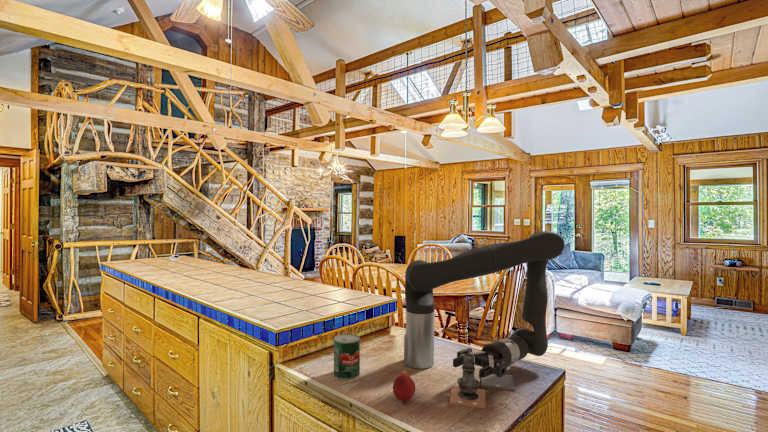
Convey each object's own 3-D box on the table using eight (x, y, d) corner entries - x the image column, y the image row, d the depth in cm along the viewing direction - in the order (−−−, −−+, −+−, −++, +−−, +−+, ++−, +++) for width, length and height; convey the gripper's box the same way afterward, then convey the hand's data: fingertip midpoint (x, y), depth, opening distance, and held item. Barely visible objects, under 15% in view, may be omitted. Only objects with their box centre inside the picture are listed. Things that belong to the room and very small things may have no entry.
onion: (408, 410, 95) (408, 378, 95) (388, 403, 98) (388, 373, 98) (418, 400, 100) (419, 370, 100) (399, 394, 103) (400, 365, 103)
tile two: (449, 403, 99) (449, 401, 99) (452, 387, 107) (452, 385, 107) (485, 408, 96) (485, 406, 96) (485, 392, 105) (485, 389, 105)
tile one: (481, 386, 108) (481, 384, 108) (481, 373, 117) (481, 371, 117) (514, 390, 106) (514, 388, 106) (512, 377, 115) (512, 375, 115)
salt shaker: (471, 403, 98) (472, 356, 98) (452, 394, 102) (453, 350, 102) (483, 395, 102) (484, 350, 102) (465, 387, 106) (465, 345, 106)
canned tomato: (345, 366, 121) (345, 332, 121) (365, 372, 116) (365, 337, 116) (328, 375, 115) (328, 338, 114) (347, 382, 110) (348, 344, 110)
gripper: (480, 335, 117) (446, 347, 107) (523, 348, 106) (490, 363, 96) (480, 359, 117) (445, 373, 107) (523, 375, 106) (489, 392, 96)
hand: (466, 368), depth 101 cm, fingers open, 8 cm apart
